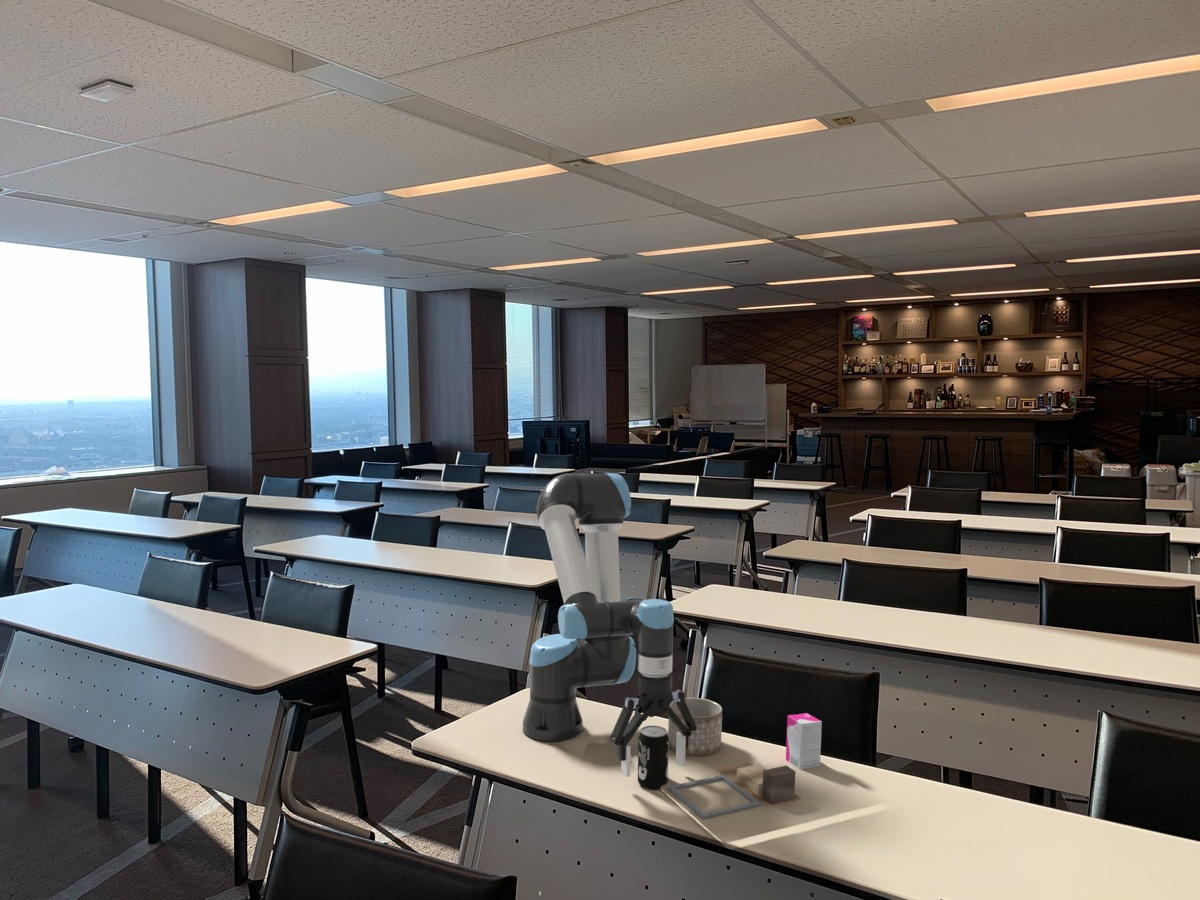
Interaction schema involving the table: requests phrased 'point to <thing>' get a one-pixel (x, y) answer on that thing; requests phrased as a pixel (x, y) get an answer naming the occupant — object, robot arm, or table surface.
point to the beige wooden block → (752, 777)
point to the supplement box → (803, 741)
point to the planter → (699, 727)
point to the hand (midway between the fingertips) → (653, 768)
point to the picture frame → (720, 812)
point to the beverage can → (653, 757)
